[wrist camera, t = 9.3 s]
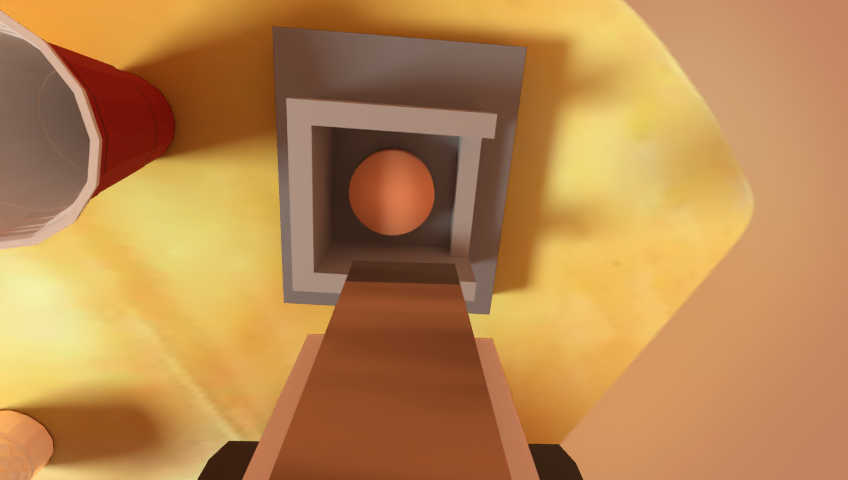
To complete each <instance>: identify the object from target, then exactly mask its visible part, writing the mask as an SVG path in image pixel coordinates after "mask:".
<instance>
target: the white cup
mask: <svg viewBox="0 0 848 480" xmlns="http://www.w3.org/2000/svg"><path fill="white" fill-rule="evenodd" d="M53 452H54V449H53V440H52V438H51V436H50V435H49V433H48V432H47V430H46V429H45V428H44V426H43V425H41V424H40V423H38V422H37V421H35V420H34V419H32V418H31V417H29V416H27V415H24V414H21V413H18V412H14V411H11V410H6V411H0V480H31V479H32V478H33V477H34V476H35V475H36V474H37V473H38V472H39V471H40V470H41V469H42V468H43V467H44V466H45V465H46V464H47V462H48V461H49V459H50V457H51V456H52V454H53Z"/></svg>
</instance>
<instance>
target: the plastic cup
mask: <svg viewBox="0 0 848 480" xmlns="http://www.w3.org/2000/svg"><path fill="white" fill-rule="evenodd" d="M174 131H175V120H174V116H173V113H172V109H171V106H170V105H169V103H168V102H167V100H166V99H165V97H164V96H163V95H162V93H161V92H160V91H159V90H158V89H157V88H155V87H154V86H153V85H151V84H150V83H148V82H147V81H146V80H144V79H142V78H141V77H139V76H137V75H134V74H131V73H128V72H125V71H121V70H118V69H116V68H115V67H113V66H112V65H109V64H106V63H103V62H101V61H98V60H95V59H92V58H90V57H87V56H84V55H81V54H79V53H76V52H73V51H70V50H68V49H65V48H62V47H59V46H57V45H54V44H51V43H48V42H46V41H45V40H43V39H42V38H40V37H38V36H37V35H35V34H34V33H33V32H31V31H30V30H28V29H27V28H25V27H24V26H22V25H21V24H20V23H18V22H17V21H15V20H14V19H12V18H11V17H10V16H8V15H7V14H5V13H4V12H2V11H1V10H0V249H6V248H14V247H23V246H31V245H37V244H39V243H40V242H42V241H44V240H45V239H47V238H49V237H51V236H52V235H54V234H56V233H57V232H59V231H61V230H62V229H64V228H66V227H67V226H69V225H71V224H73V223H74V222H75V221H76V220H77V219H78V218H79V216H80V214H81V213H82V211H83V210H84V208H85V206H86V205H87V203H88V202H89V200H90V199H92V198H93V197H95V196H97V195H98V194H99V193H100V192H101V191H103V190H105V189H107V188H108V187H110V186H112V185H114V184H115V183H117V182H119V181H121V180H122V179H124V178H126V177H128V176H129V175H131V174H132V173H134V172H136V171H137V170H139V169H141V168H142V167H144V166H145V165H146V164H148V163H150V162H151V161H153V160H155V159H156V158H158V157H160V156H161V155H163V154H164V152H165V151H166V150H167V149H168V147H169V145H170V144H171V142H172V140H173V139H174Z"/></svg>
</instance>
